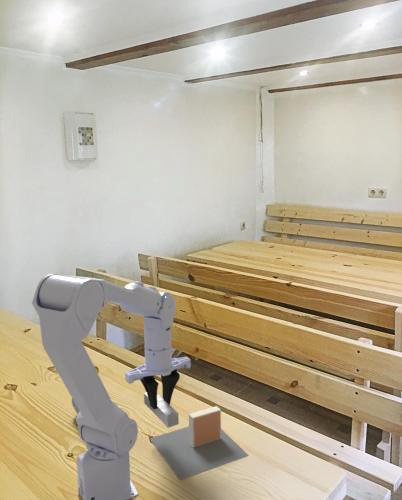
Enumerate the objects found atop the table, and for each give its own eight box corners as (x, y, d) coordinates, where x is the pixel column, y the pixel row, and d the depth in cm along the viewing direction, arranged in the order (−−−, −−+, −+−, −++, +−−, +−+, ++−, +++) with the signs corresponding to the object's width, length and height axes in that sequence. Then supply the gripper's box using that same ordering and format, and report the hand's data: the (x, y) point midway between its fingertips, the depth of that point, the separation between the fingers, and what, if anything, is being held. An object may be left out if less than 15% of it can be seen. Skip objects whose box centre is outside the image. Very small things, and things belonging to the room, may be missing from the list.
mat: (180, 481, 89) (180, 479, 89) (149, 440, 103) (149, 438, 103) (248, 456, 96) (248, 455, 96) (211, 421, 110) (211, 419, 110)
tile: (193, 448, 99) (193, 418, 98) (189, 443, 101) (188, 414, 99) (221, 438, 102) (221, 409, 101) (216, 434, 104) (216, 405, 103)
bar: (167, 427, 94) (167, 416, 93) (144, 403, 104) (143, 392, 103) (178, 424, 95) (178, 413, 94) (154, 400, 105) (153, 390, 105)
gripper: (133, 360, 90) (136, 423, 92) (197, 344, 97) (198, 403, 99) (120, 348, 96) (123, 408, 98) (181, 334, 103) (182, 390, 105)
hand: (160, 405), depth 99 cm, fingers closed on bar, 2 cm apart
